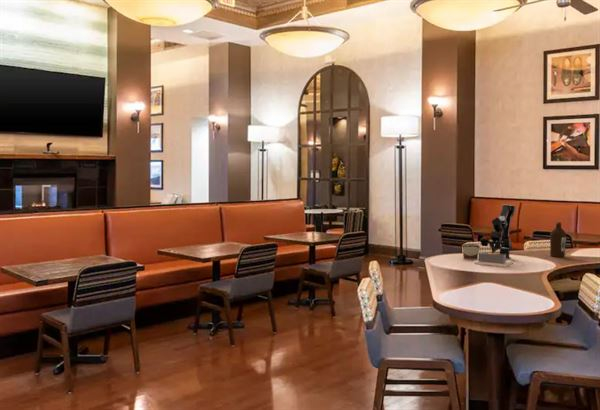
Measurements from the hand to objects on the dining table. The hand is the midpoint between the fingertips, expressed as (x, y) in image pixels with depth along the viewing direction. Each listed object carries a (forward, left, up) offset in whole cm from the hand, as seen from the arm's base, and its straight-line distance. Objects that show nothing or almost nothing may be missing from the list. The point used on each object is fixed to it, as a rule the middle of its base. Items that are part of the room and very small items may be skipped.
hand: (492, 252), depth 370 cm
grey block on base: (-3, -2, -7) cm, 8 cm away
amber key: (+1, +1, -3) cm, 4 cm away
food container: (-5, -24, -8) cm, 26 cm away
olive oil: (-70, -1, -8) cm, 70 cm away
